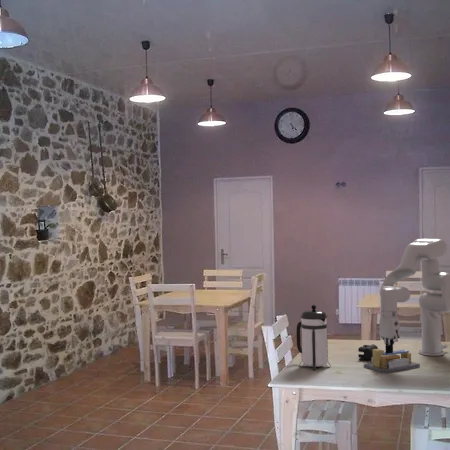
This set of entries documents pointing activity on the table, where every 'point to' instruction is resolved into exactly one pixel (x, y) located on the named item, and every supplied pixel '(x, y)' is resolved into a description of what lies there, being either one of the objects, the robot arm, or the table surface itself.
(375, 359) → the block
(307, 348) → the coffee press
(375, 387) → the table surface
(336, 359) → the table surface
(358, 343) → the table surface
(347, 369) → the table surface
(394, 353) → the strap
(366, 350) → the end cap
